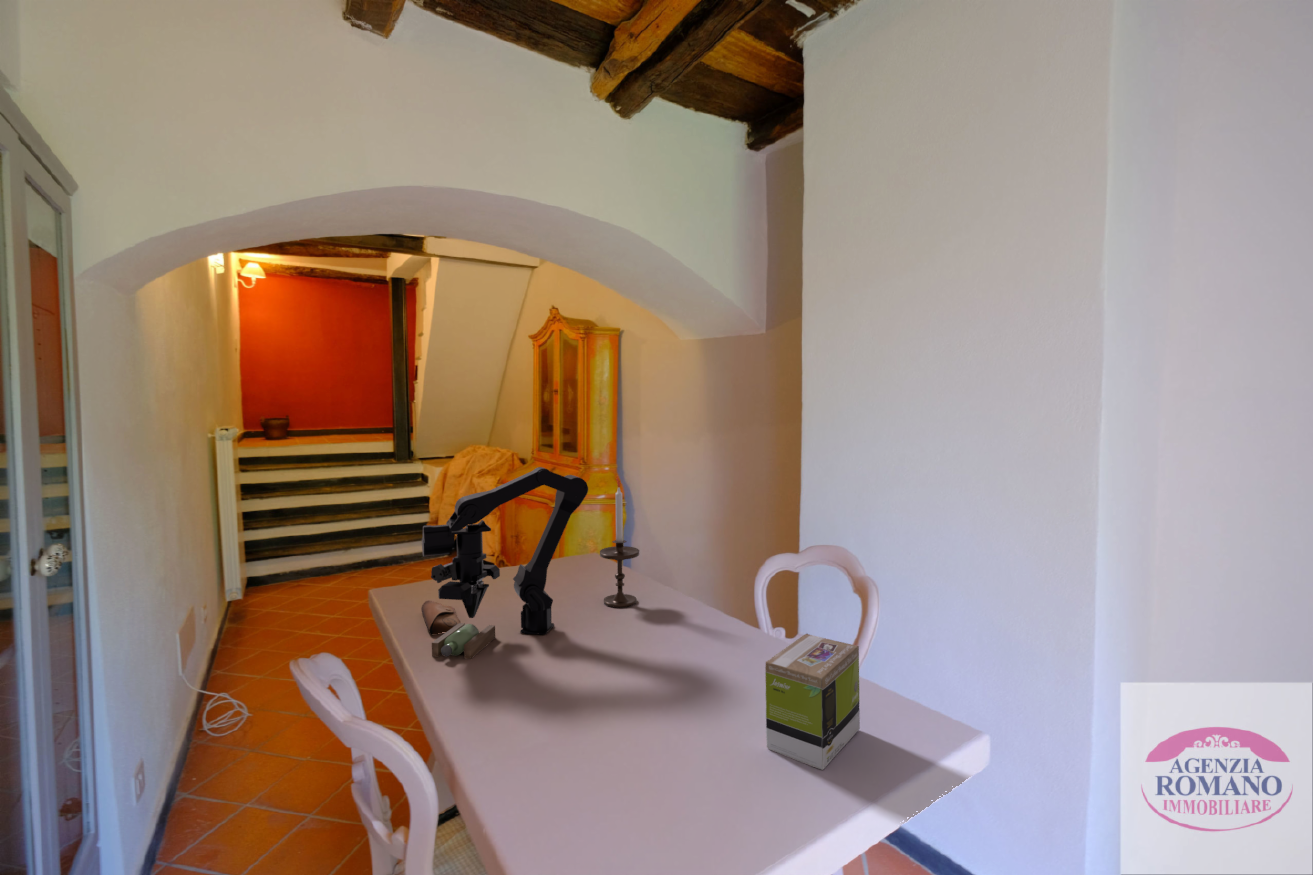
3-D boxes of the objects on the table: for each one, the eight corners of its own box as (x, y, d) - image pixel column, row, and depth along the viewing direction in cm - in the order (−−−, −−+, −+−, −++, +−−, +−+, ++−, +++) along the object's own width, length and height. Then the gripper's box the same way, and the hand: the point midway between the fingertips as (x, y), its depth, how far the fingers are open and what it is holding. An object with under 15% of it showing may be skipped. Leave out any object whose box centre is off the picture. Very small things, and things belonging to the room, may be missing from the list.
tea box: (805, 711, 109) (806, 630, 108) (861, 730, 103) (862, 644, 102) (763, 749, 98) (764, 658, 97) (823, 773, 91) (824, 676, 90)
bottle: (479, 625, 141) (456, 642, 131) (478, 644, 141) (454, 663, 131) (461, 622, 142) (436, 638, 132) (460, 641, 142) (435, 659, 132)
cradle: (495, 637, 144) (495, 625, 144) (470, 658, 133) (470, 645, 132) (459, 635, 146) (459, 622, 146) (432, 655, 134) (431, 642, 134)
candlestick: (595, 599, 172) (593, 475, 170) (630, 594, 176) (629, 473, 174) (608, 611, 162) (606, 479, 160) (646, 605, 166) (645, 477, 164)
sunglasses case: (466, 629, 150) (451, 608, 148) (440, 648, 147) (425, 627, 145) (454, 607, 166) (440, 588, 164) (431, 624, 163) (416, 605, 161)
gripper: (458, 540, 152) (459, 602, 153) (415, 560, 134) (417, 630, 135) (500, 542, 150) (501, 604, 151) (462, 562, 132) (464, 633, 133)
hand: (471, 617), depth 143 cm, fingers closed
